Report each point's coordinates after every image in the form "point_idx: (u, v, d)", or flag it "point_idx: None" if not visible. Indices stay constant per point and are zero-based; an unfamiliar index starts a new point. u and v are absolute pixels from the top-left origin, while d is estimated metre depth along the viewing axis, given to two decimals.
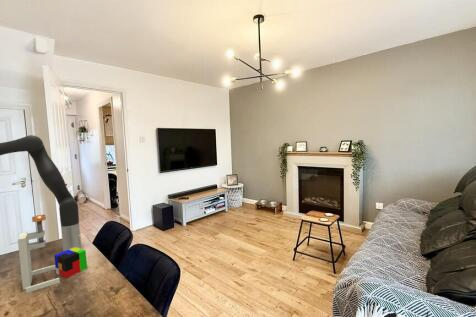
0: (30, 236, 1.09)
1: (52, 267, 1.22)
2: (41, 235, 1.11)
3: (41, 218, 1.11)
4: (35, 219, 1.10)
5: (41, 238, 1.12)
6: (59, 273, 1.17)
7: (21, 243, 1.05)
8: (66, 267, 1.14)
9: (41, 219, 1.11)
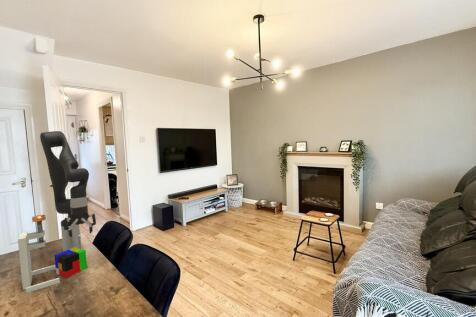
0: (30, 236, 1.09)
1: (52, 267, 1.22)
2: (41, 235, 1.11)
3: (41, 218, 1.11)
4: (35, 219, 1.10)
5: (41, 238, 1.12)
6: (59, 273, 1.17)
7: (21, 243, 1.05)
8: (66, 267, 1.14)
9: (41, 219, 1.11)
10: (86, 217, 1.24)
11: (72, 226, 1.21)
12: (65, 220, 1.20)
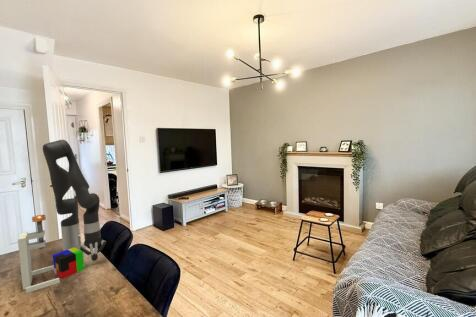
0: (30, 236, 1.09)
1: (52, 267, 1.22)
2: (41, 235, 1.11)
3: (41, 218, 1.11)
4: (35, 219, 1.10)
5: (41, 238, 1.12)
6: (56, 273, 1.17)
7: (21, 243, 1.05)
8: (62, 268, 1.14)
9: (41, 219, 1.11)
10: (99, 243, 1.27)
11: (92, 250, 1.25)
12: (82, 249, 1.22)
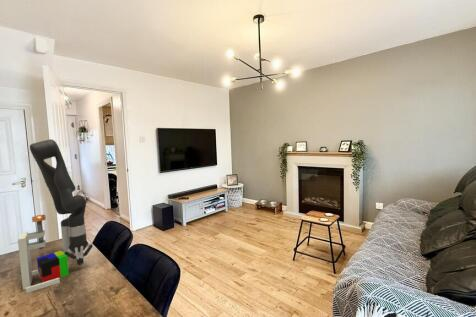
0: (30, 236, 1.09)
1: None
2: (41, 235, 1.11)
3: (41, 218, 1.11)
4: (35, 219, 1.10)
5: (41, 238, 1.12)
6: (40, 278, 1.14)
7: (21, 243, 1.05)
8: (44, 273, 1.10)
9: (41, 219, 1.11)
10: (85, 247, 1.23)
11: (77, 254, 1.21)
12: (66, 253, 1.18)
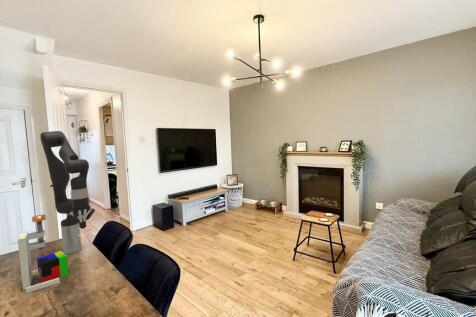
0: (30, 236, 1.09)
1: None
2: (41, 235, 1.11)
3: (41, 218, 1.11)
4: (35, 219, 1.10)
5: (41, 238, 1.12)
6: (40, 278, 1.14)
7: (21, 243, 1.05)
8: (44, 273, 1.10)
9: (41, 219, 1.11)
10: (88, 210, 1.24)
11: (81, 217, 1.21)
12: (70, 216, 1.18)
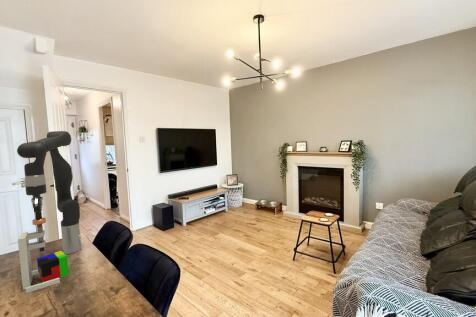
0: (30, 236, 1.09)
1: None
2: (41, 235, 1.11)
3: (41, 221, 1.11)
4: (35, 222, 1.10)
5: (41, 241, 1.12)
6: (40, 278, 1.14)
7: (21, 243, 1.05)
8: (44, 273, 1.10)
9: (41, 222, 1.11)
10: None
11: None
12: (39, 203, 1.08)
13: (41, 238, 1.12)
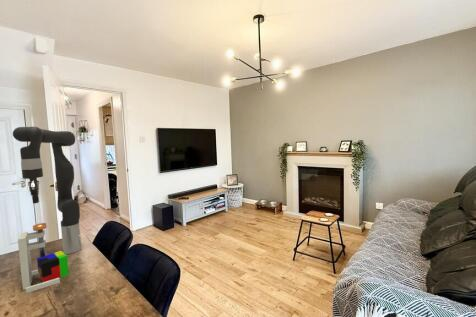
0: (30, 236, 1.09)
1: None
2: (41, 235, 1.11)
3: (42, 227, 1.11)
4: (36, 228, 1.10)
5: None
6: (40, 278, 1.14)
7: (21, 243, 1.05)
8: (44, 273, 1.10)
9: (42, 228, 1.11)
10: None
11: (38, 190, 1.12)
12: (36, 187, 1.08)
13: None
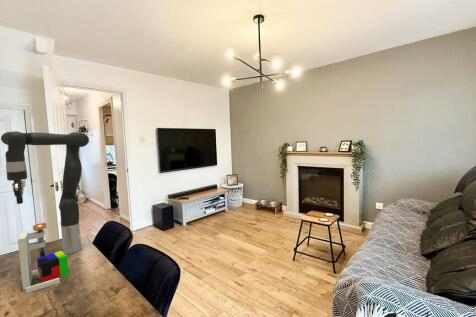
0: (30, 236, 1.09)
1: None
2: (41, 235, 1.11)
3: (42, 227, 1.11)
4: (36, 228, 1.10)
5: None
6: (40, 278, 1.14)
7: (21, 243, 1.05)
8: (44, 273, 1.10)
9: (42, 228, 1.11)
10: None
11: (22, 191, 1.19)
12: (20, 188, 1.15)
13: None
